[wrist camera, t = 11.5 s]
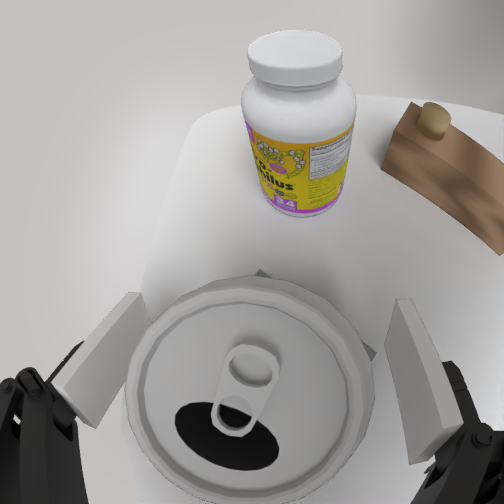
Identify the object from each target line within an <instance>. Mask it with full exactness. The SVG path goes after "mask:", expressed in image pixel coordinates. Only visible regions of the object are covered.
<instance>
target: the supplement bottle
mask: <svg viewBox="0 0 504 504" xmlns="http://www.w3.org/2000/svg"><path fill="white" fill-rule="evenodd" d="M247 56H248V60H249V65H250V70H251V72H252V74H253V75H254V77H253V78H252V79H251V80H250V81H249V82H248V83H247V85H246V86H245V88H244V90H243V93H242V97H241V107H242V112H243V116H244V119H245V123H246V126H247V130H248V134H249V138H250V142H251V146H252V151H253V154H254V158H255V162H256V166H257V170H258V175H259V179H260V183H261V186H262V190H263V193H264V195H265V197H266V198H267V200H268V201H269V202H270V203H271V204H272V205H273V206H274V207H275V208H276V209H278V210H279V211H281V212H283V213H286V214H288V215H292V216H297V217H309V216H314V215H318V214H320V213H323V212H324V211H326V210H327V209H329V208H330V207H331V206H332V205H333V204H334V203H335V202H336V201H337V199H338V198H339V196H340V193H341V190H342V187H343V183H344V177H345V172H346V167H347V162H348V156H349V151H350V145H351V139H352V132H353V127H354V120H355V115H356V97H355V94H354V91H353V89H352V88H351V86H350V84H349V83H348V82H347V81H346V80H345V79H344V78H343V77H342V76H341V75H340V72H341V71H342V67H343V65H342V48H341V46H340V44H339V43H338V42H337V41H335V40H334V39H333V38H331V37H329V36H327V35H325V34H322V33H318V32H313V31H307V30H285V31H278V32H273V33H269V34H267V35H264V36H262V37H260V38H258V39H256V40H254V41H253V42H252V43H251V44H250V45H249V47H248V49H247Z"/></svg>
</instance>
